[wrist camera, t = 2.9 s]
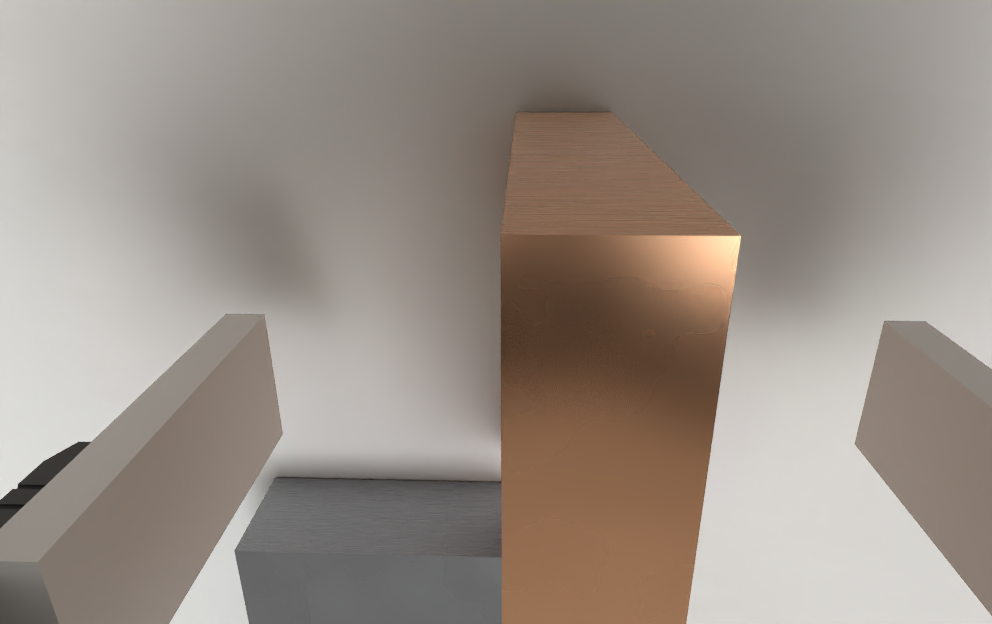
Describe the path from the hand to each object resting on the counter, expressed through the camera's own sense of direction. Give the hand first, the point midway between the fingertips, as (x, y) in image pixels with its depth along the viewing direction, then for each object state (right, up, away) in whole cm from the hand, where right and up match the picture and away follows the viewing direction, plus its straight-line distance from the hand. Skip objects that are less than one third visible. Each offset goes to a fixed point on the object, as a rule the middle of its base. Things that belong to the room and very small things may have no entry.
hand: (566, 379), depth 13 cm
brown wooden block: (0, +2, +4) cm, 4 cm away
